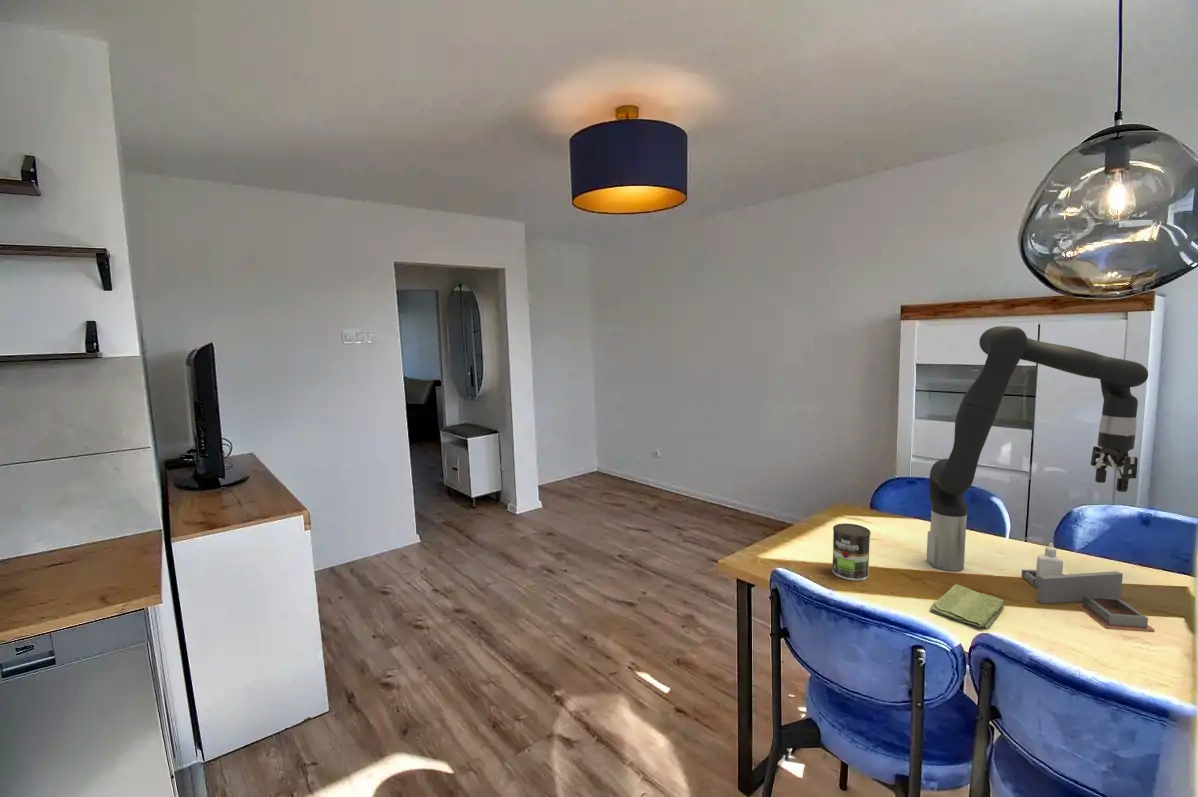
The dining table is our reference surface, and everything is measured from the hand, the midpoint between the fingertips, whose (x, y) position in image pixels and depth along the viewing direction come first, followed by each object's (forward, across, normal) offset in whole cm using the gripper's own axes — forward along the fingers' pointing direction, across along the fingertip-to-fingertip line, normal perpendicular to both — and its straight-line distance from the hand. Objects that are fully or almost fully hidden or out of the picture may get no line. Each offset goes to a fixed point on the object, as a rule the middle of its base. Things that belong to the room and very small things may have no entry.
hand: (1110, 486), depth 154 cm
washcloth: (+28, +26, -45) cm, 60 cm away
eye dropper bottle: (+27, +8, -17) cm, 33 cm away
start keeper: (+27, +8, -17) cm, 33 cm away
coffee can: (+28, +8, -70) cm, 76 cm away
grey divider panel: (+27, +17, -15) cm, 35 cm away
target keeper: (+27, +26, -12) cm, 39 cm away
